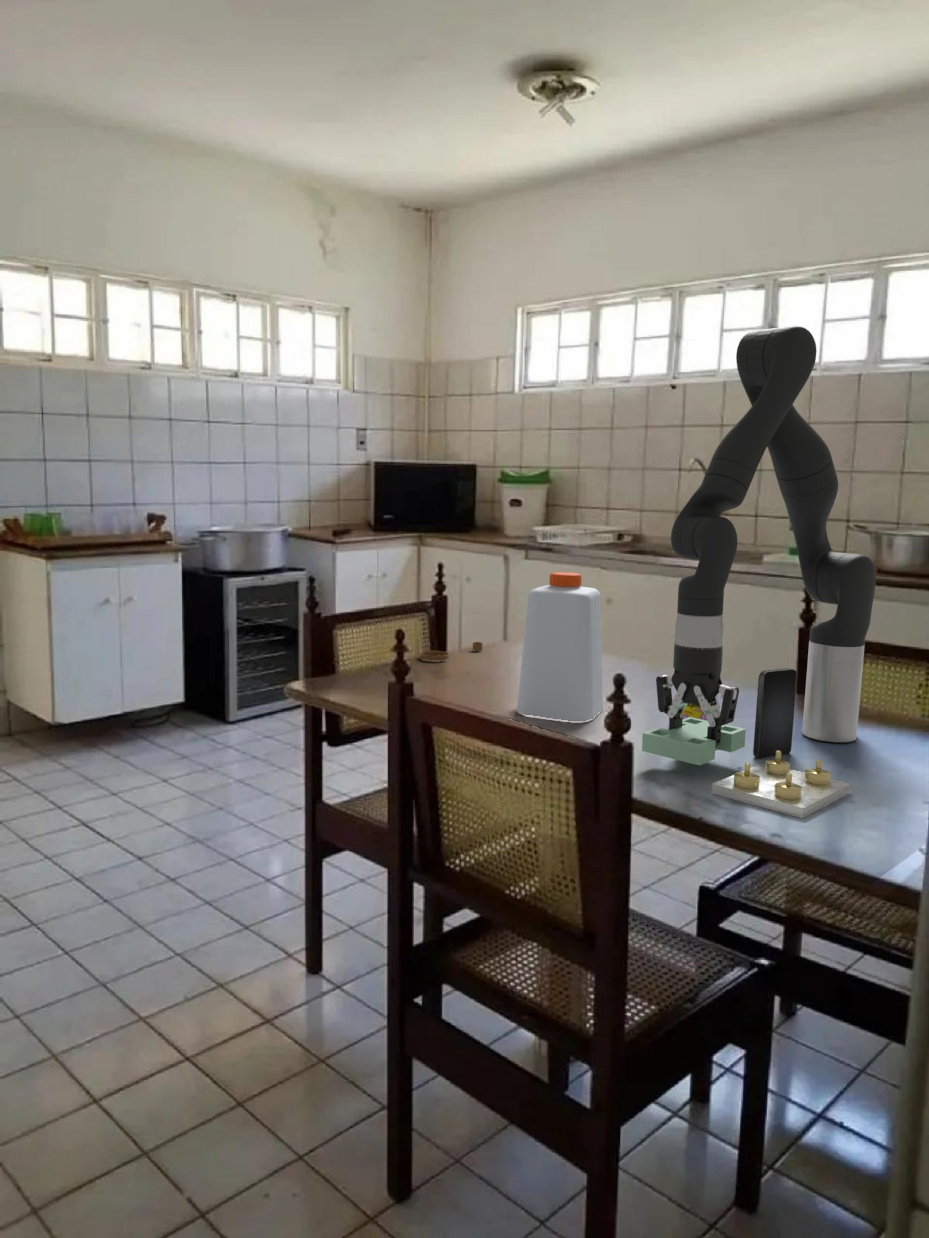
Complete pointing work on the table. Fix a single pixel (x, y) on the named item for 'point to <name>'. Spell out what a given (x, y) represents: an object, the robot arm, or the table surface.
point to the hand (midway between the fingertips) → (693, 743)
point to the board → (692, 741)
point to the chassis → (783, 787)
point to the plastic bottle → (562, 651)
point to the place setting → (445, 653)
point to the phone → (774, 712)
